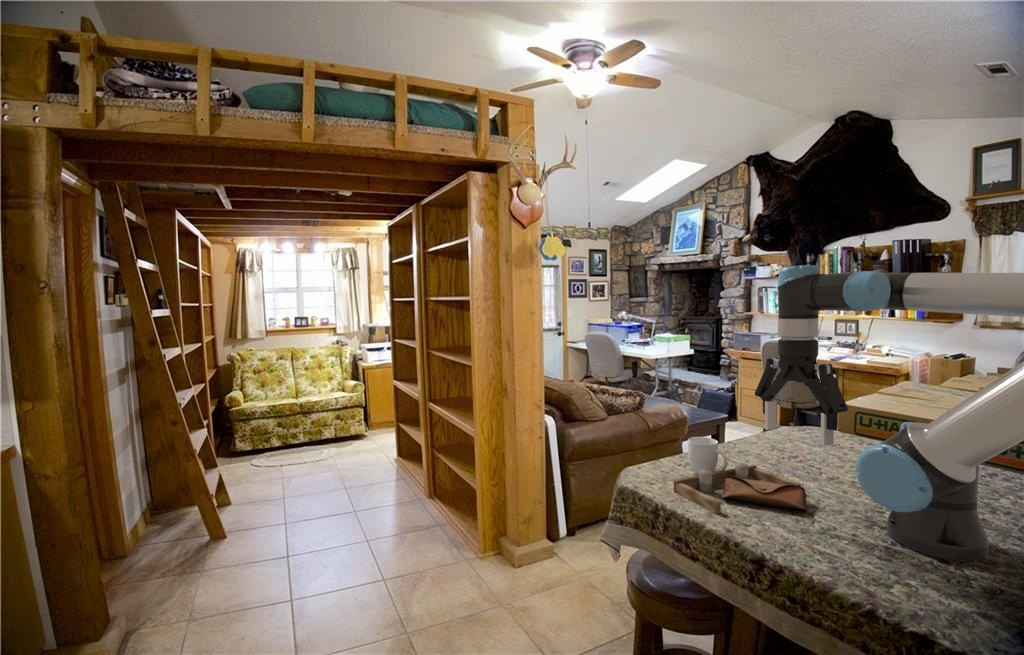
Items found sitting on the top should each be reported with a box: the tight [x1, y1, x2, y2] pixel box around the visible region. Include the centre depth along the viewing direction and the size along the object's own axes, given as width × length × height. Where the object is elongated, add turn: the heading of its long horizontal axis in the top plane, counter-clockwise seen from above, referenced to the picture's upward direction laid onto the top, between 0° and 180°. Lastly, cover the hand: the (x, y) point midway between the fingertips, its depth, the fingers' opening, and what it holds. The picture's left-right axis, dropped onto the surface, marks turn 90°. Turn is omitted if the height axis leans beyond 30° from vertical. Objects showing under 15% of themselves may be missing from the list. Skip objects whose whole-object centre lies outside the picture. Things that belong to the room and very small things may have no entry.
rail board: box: [673, 462, 802, 514], centre depth 122 cm, size 14×27×5 cm, turn 112°
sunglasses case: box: [721, 476, 808, 510], centre depth 116 cm, size 18×7×7 cm
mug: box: [687, 436, 728, 476], centre depth 134 cm, size 11×8×9 cm
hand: (797, 436), depth 106 cm, fingers open, 13 cm apart
